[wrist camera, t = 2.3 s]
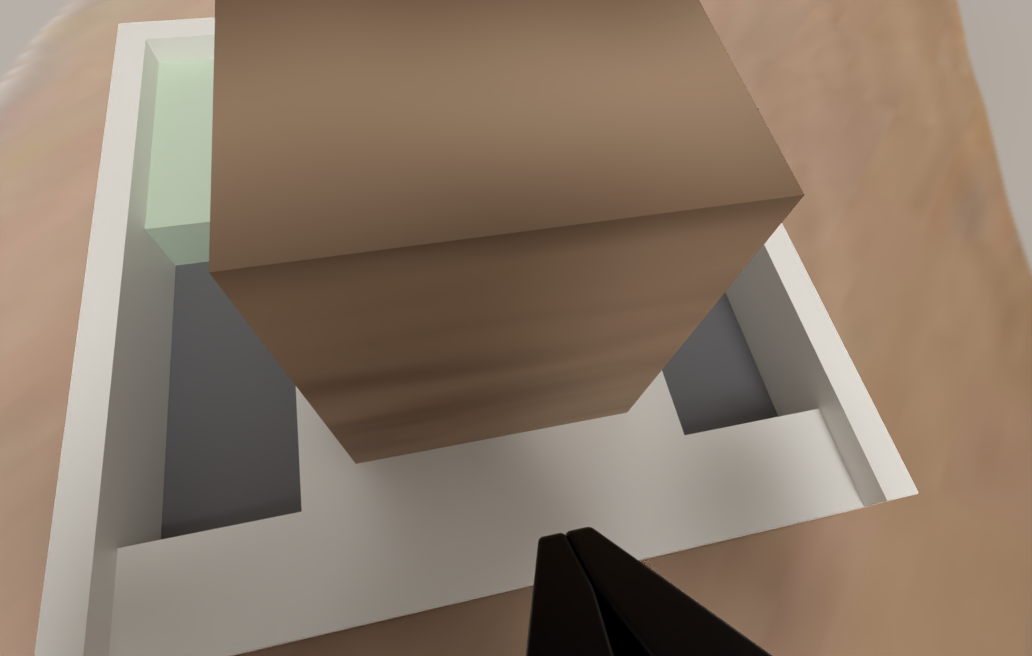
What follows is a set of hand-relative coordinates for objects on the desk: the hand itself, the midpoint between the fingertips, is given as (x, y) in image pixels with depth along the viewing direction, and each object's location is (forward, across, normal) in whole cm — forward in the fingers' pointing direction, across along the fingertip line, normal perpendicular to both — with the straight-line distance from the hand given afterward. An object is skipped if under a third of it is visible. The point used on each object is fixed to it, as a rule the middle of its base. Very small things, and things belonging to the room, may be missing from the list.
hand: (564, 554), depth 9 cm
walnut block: (+10, 0, -1) cm, 10 cm away
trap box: (+14, 0, -1) cm, 14 cm away
